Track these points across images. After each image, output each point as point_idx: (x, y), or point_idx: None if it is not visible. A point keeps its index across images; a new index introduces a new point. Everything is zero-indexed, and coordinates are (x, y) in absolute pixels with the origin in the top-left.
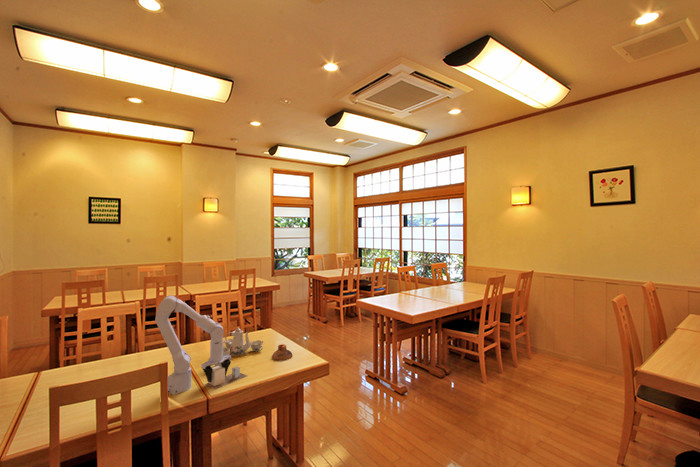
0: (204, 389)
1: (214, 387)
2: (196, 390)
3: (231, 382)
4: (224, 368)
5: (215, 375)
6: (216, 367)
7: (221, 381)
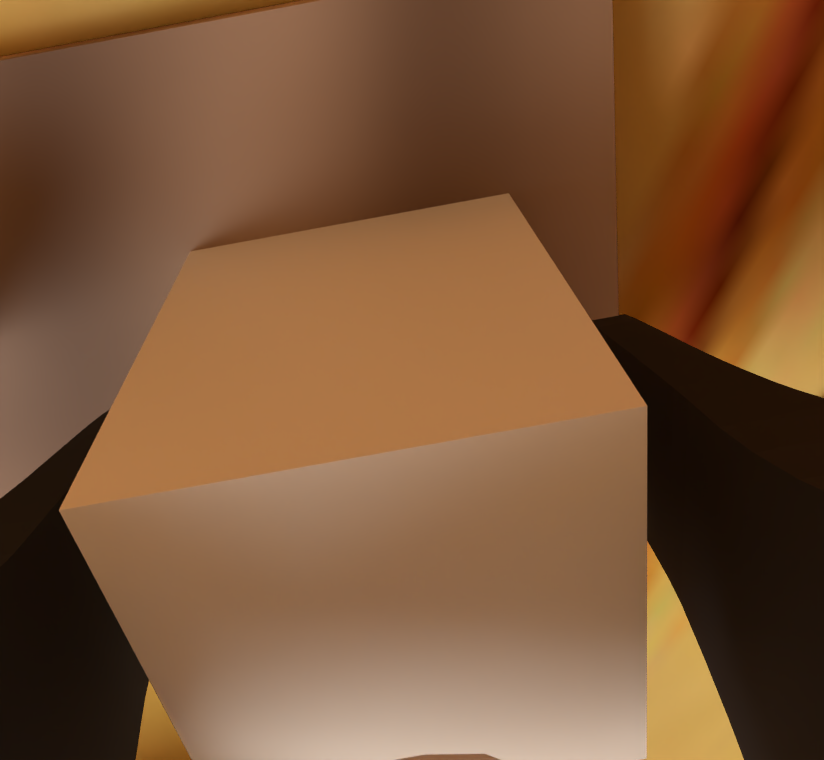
0: (678, 290)
1: (553, 109)
2: (802, 357)
3: (27, 75)
4: (95, 497)
5: (555, 326)
6: (355, 748)
7: (296, 252)
